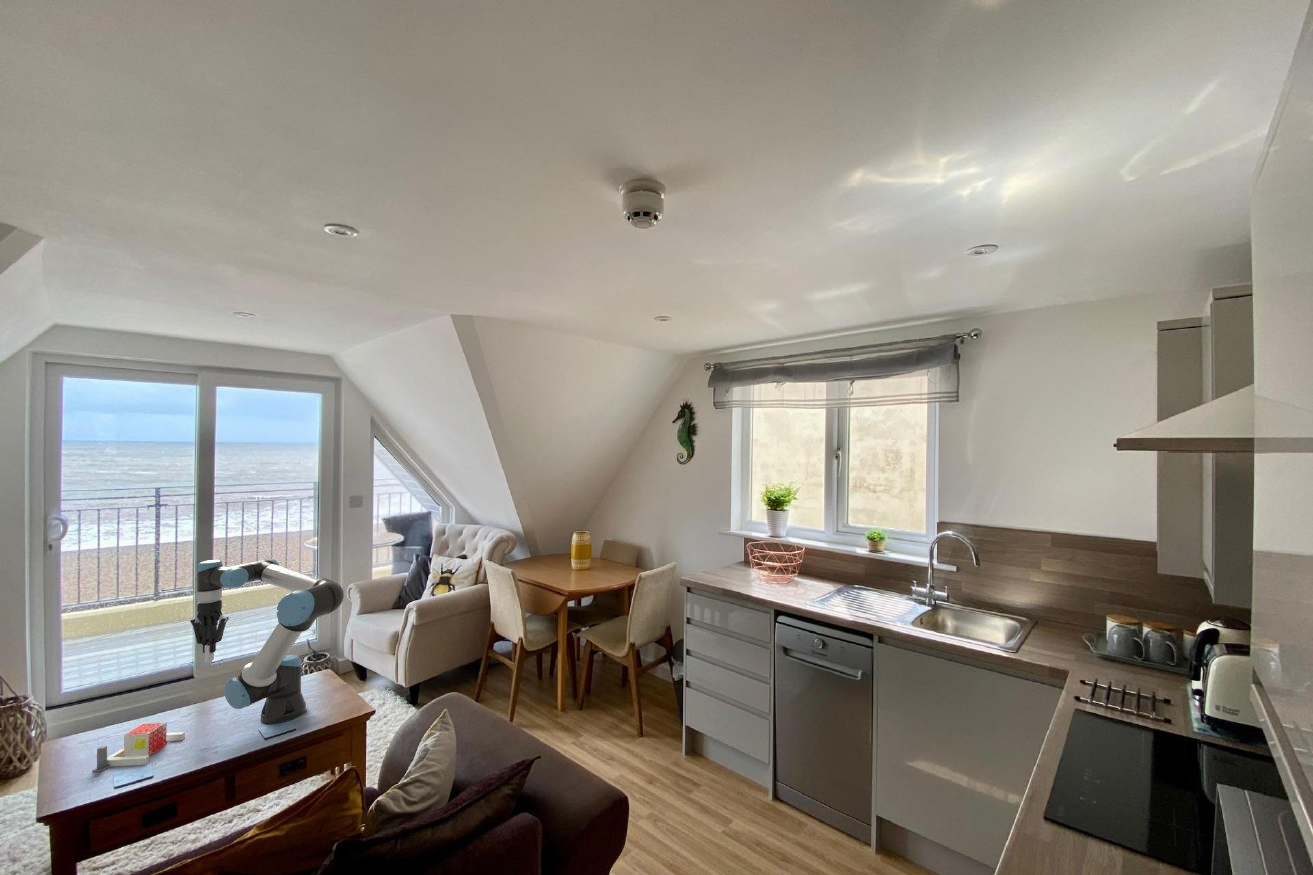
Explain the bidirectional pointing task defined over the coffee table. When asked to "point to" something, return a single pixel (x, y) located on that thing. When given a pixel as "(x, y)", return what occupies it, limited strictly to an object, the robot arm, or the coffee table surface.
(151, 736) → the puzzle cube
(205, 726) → the coffee table surface
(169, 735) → the keeper bracket
